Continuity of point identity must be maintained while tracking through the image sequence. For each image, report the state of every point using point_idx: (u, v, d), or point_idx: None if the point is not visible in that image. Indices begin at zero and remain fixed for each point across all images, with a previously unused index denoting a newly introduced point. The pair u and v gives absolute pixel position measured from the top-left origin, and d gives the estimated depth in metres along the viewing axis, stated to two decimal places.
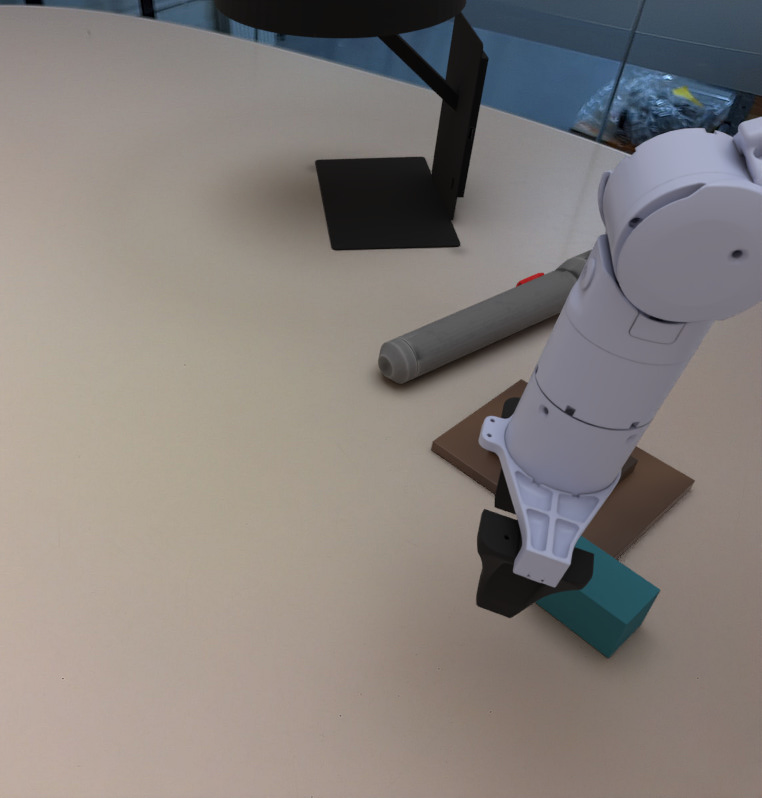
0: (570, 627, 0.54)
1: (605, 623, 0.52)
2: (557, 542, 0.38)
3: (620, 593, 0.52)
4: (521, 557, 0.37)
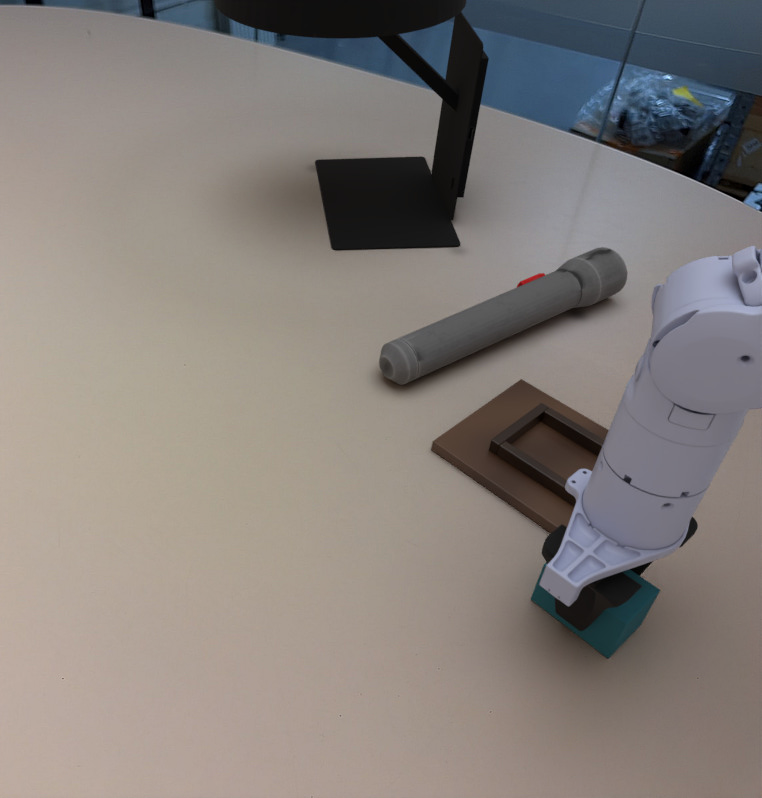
0: (570, 627, 0.54)
1: (605, 623, 0.52)
2: (581, 572, 0.46)
3: None
4: (544, 572, 0.46)
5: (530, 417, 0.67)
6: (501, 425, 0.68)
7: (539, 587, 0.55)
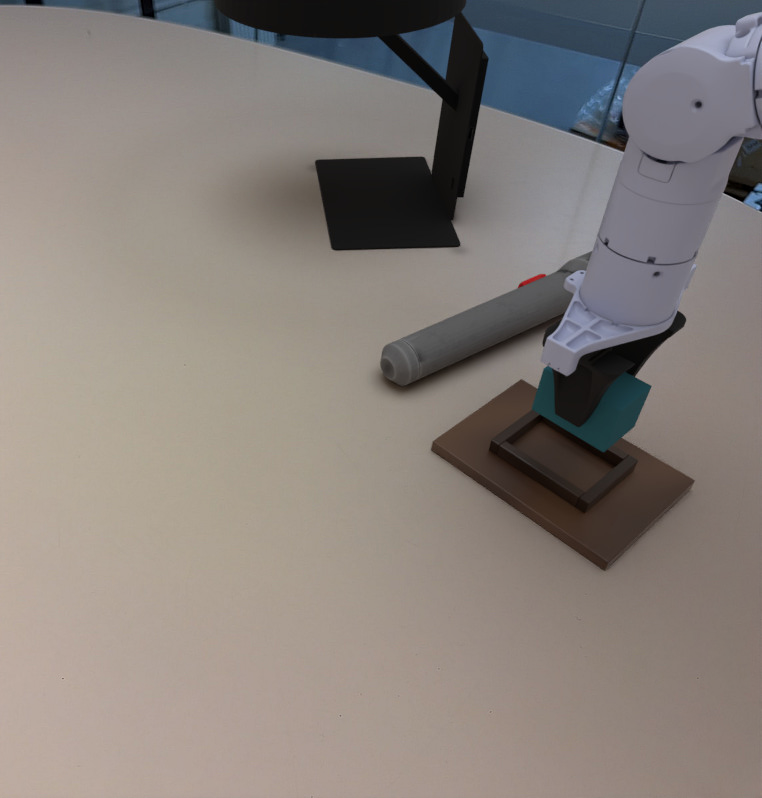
0: (568, 429, 0.59)
1: (600, 415, 0.56)
2: (579, 344, 0.50)
3: (614, 388, 0.56)
4: (544, 346, 0.50)
5: (530, 417, 0.67)
6: (501, 425, 0.68)
7: (539, 393, 0.59)
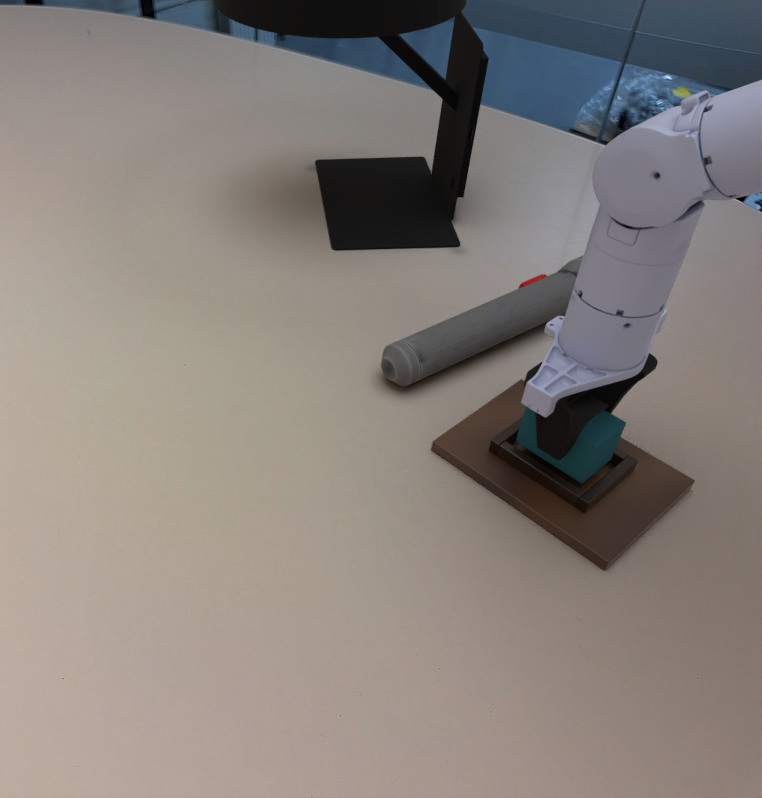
0: (549, 461, 0.63)
1: (578, 450, 0.60)
2: (556, 388, 0.54)
3: (591, 424, 0.60)
4: None
5: None
6: (501, 425, 0.68)
7: (523, 428, 0.63)
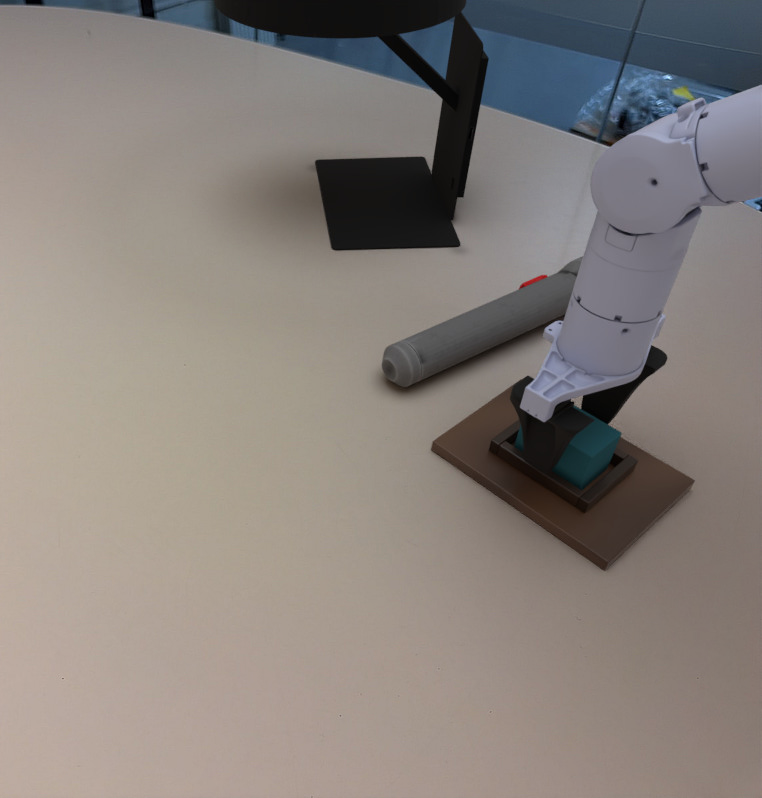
0: None
1: (575, 460, 0.61)
2: (555, 393, 0.55)
3: (587, 435, 0.61)
4: (523, 394, 0.55)
5: None
6: (501, 425, 0.68)
7: (520, 438, 0.64)
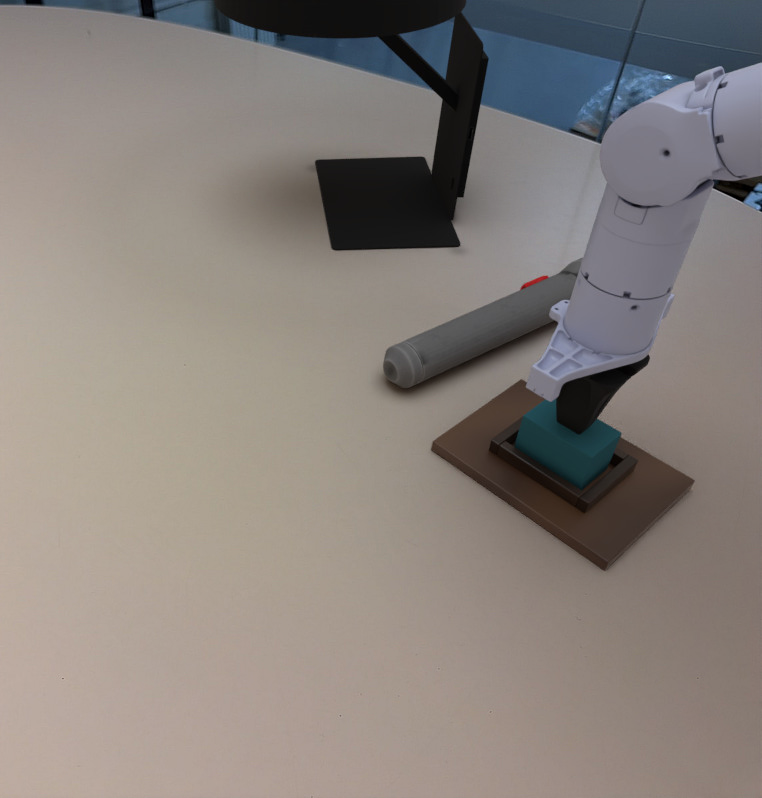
0: None
1: (574, 460, 0.61)
2: (562, 372, 0.53)
3: (587, 435, 0.61)
4: None
5: None
6: (501, 425, 0.68)
7: (520, 438, 0.64)
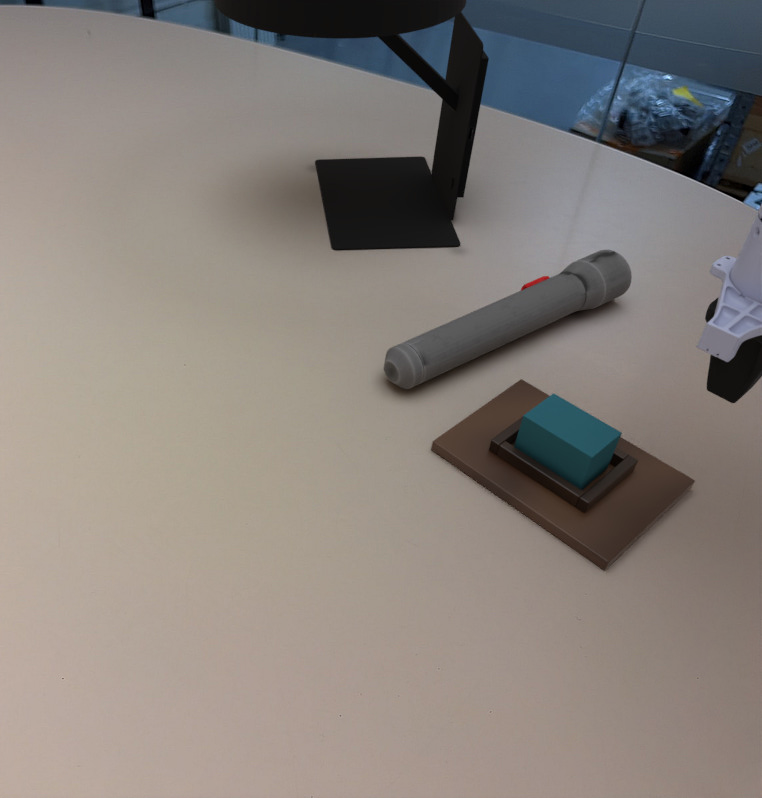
0: None
1: (575, 460, 0.61)
2: (739, 330, 0.49)
3: (587, 435, 0.61)
4: (703, 331, 0.49)
5: None
6: (501, 425, 0.68)
7: (520, 438, 0.64)
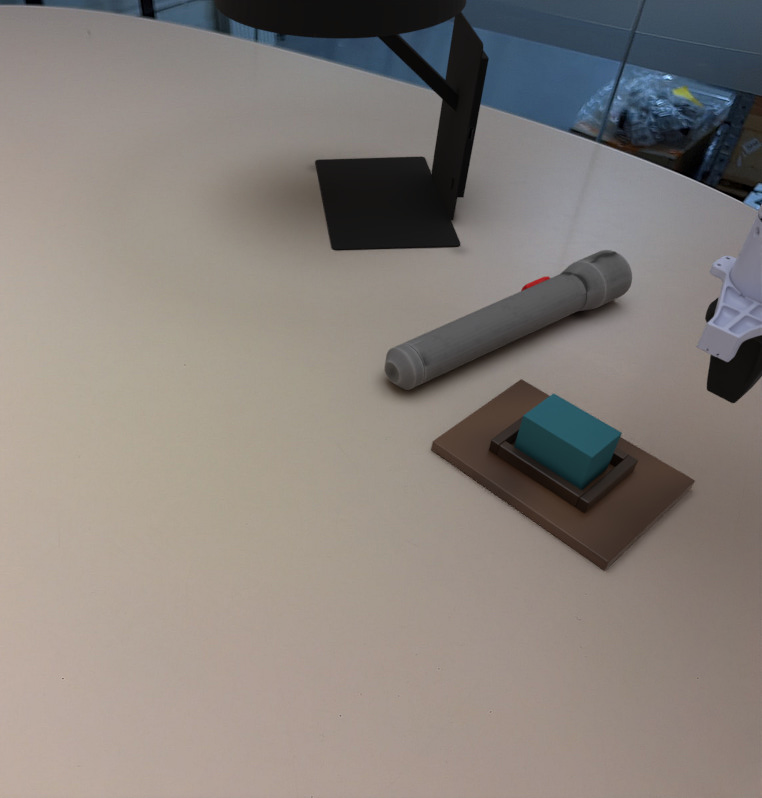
0: None
1: (575, 460, 0.61)
2: (739, 330, 0.49)
3: (587, 435, 0.61)
4: (703, 331, 0.49)
5: None
6: (501, 425, 0.68)
7: (520, 438, 0.64)
